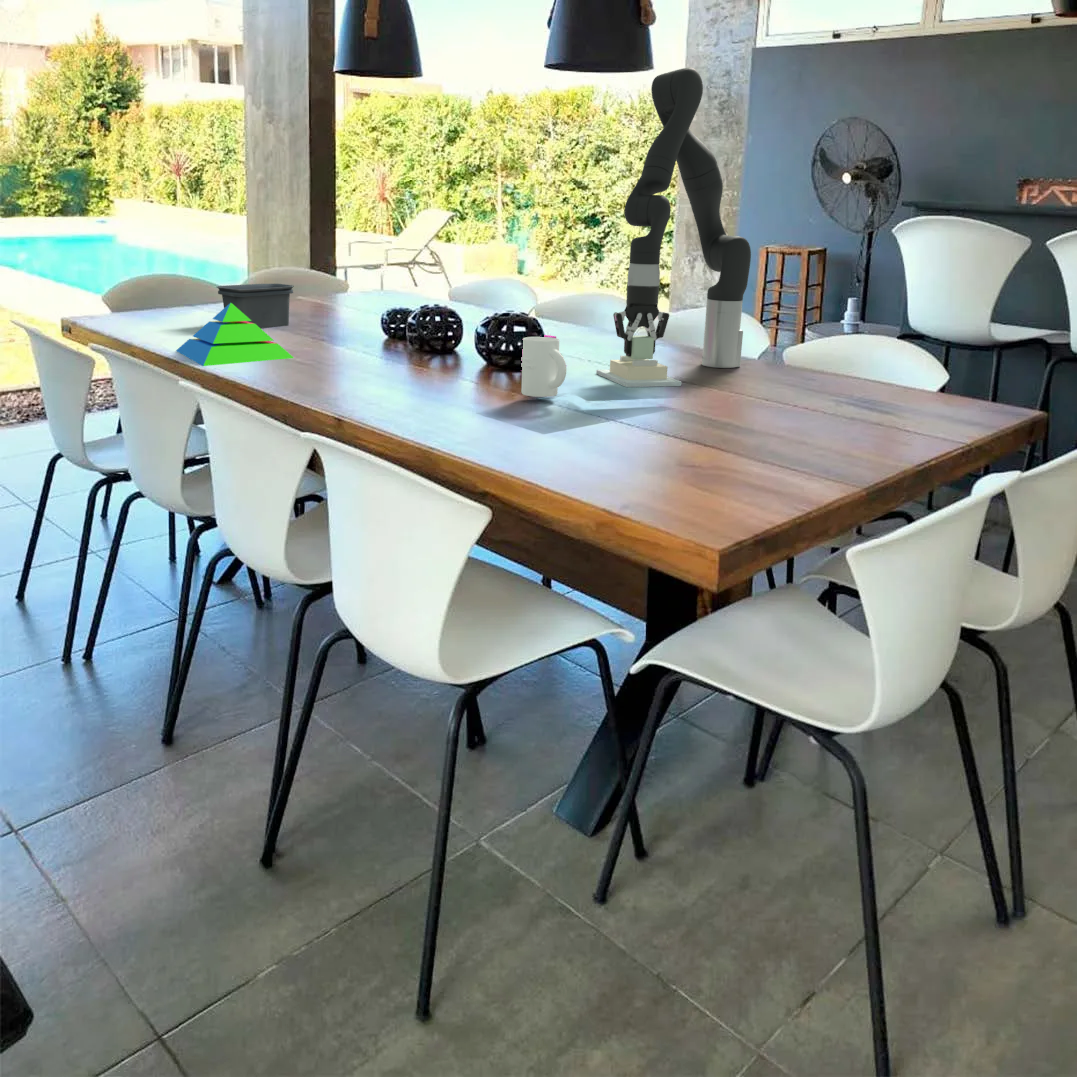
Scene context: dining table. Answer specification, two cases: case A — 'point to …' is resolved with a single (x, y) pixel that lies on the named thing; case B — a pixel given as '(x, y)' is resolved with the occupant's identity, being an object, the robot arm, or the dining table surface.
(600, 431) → the dining table surface
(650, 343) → the sage cube
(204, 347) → the pyramid toy
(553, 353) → the mug
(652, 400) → the dining table surface
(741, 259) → the robot arm
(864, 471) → the dining table surface
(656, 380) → the base
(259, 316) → the storage bin
